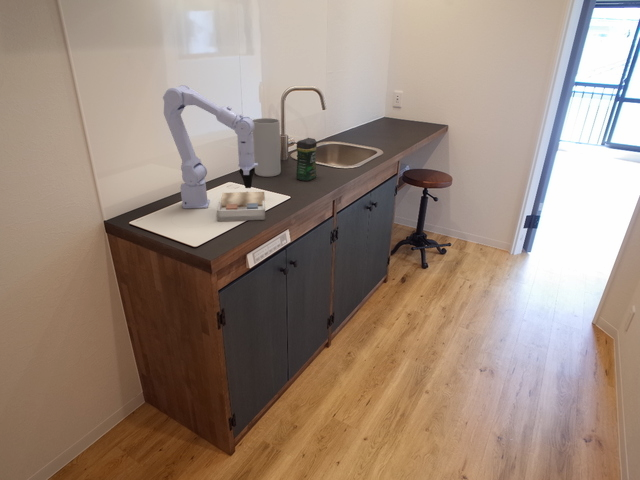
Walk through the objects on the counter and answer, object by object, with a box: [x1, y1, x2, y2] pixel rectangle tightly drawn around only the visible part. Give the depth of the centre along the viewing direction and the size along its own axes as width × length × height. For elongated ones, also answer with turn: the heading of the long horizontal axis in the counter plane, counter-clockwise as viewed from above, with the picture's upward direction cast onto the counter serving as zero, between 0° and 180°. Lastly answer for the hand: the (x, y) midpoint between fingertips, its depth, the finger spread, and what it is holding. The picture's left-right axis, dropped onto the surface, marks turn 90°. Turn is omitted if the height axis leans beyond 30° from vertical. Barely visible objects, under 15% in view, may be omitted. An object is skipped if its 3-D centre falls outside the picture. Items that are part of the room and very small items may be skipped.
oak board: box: [219, 191, 266, 207], centre depth 166 cm, size 17×14×2 cm
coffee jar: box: [295, 137, 318, 182], centre depth 193 cm, size 10×8×19 cm
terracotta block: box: [226, 204, 238, 210], centre depth 154 cm, size 4×4×2 cm
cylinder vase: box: [252, 117, 282, 178], centre depth 197 cm, size 12×12×25 cm
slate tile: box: [247, 203, 258, 209], centre depth 155 cm, size 4×4×2 cm
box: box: [216, 200, 266, 222], centre depth 155 cm, size 17×9×4 cm, turn 97°
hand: (248, 187), depth 158 cm, fingers closed
